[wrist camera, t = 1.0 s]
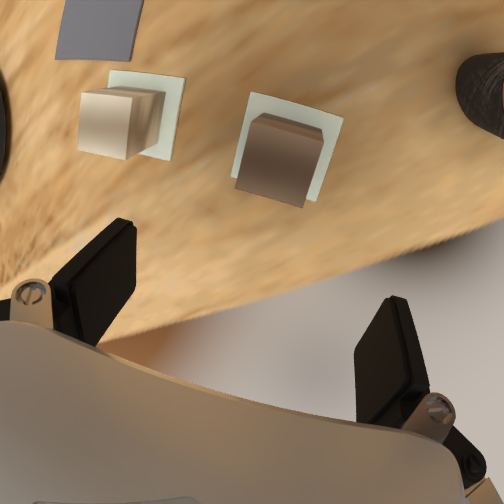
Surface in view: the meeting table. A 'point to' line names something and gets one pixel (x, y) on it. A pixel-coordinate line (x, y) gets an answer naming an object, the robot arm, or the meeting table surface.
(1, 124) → the electronic game
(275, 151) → the walnut block
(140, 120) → the birch block
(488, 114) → the travel mug
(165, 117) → the tile
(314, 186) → the tile
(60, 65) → the meeting table surface
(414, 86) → the meeting table surface
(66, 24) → the mat
